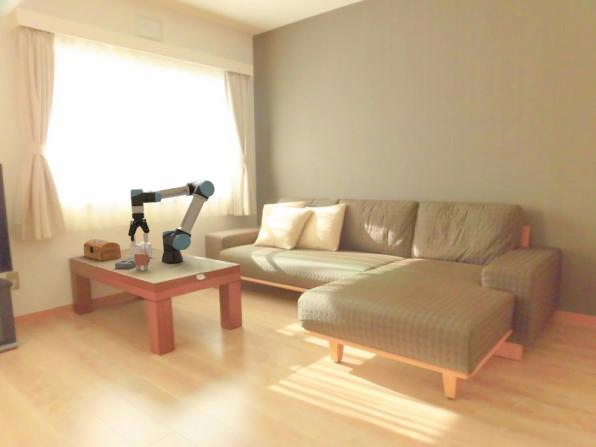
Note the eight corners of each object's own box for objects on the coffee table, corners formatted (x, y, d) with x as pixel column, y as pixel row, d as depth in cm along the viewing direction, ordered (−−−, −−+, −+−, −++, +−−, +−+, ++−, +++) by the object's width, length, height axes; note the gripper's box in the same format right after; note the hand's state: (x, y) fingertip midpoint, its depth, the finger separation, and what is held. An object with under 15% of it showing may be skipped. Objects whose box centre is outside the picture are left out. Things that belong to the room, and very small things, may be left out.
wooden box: (82, 257, 326) (81, 240, 324) (103, 254, 338) (102, 237, 336) (99, 262, 306) (98, 243, 304) (121, 258, 319) (120, 240, 317)
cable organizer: (130, 257, 320) (129, 242, 318) (142, 255, 328) (141, 241, 326) (140, 260, 310) (139, 244, 309) (153, 257, 318) (152, 242, 317)
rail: (136, 261, 306) (136, 256, 306) (149, 261, 303) (149, 256, 303) (115, 268, 283) (114, 263, 282) (129, 268, 280) (129, 263, 280)
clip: (137, 269, 279) (136, 253, 278) (148, 269, 277) (147, 253, 276) (135, 270, 277) (134, 254, 275) (146, 270, 275) (145, 254, 273)
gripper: (144, 210, 285) (145, 241, 288) (120, 214, 261) (123, 247, 263) (153, 210, 283) (155, 241, 286) (131, 214, 259) (133, 247, 262)
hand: (139, 244), depth 275 cm, fingers open, 13 cm apart
